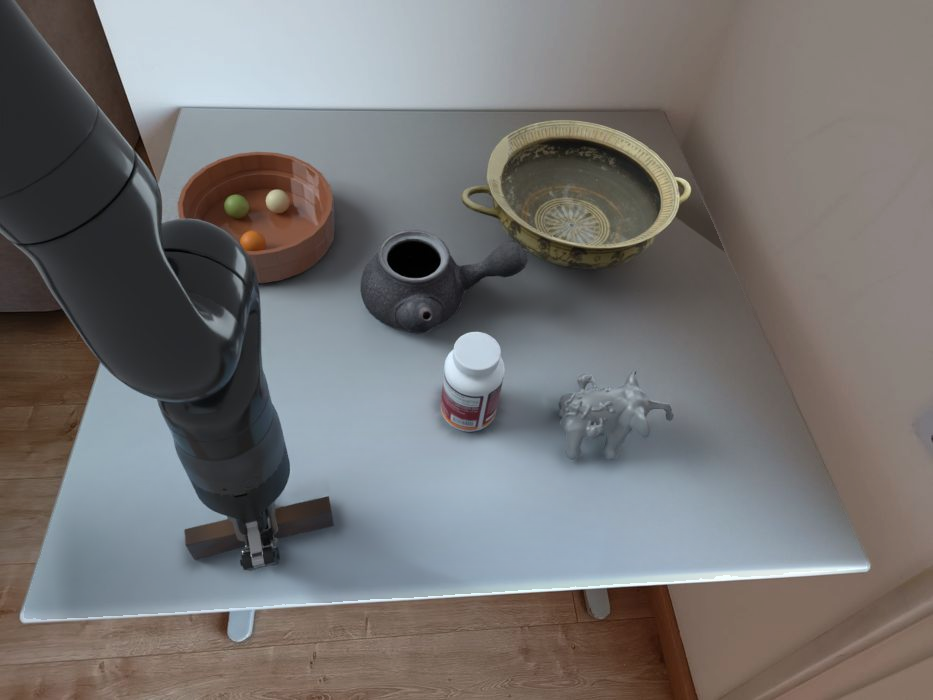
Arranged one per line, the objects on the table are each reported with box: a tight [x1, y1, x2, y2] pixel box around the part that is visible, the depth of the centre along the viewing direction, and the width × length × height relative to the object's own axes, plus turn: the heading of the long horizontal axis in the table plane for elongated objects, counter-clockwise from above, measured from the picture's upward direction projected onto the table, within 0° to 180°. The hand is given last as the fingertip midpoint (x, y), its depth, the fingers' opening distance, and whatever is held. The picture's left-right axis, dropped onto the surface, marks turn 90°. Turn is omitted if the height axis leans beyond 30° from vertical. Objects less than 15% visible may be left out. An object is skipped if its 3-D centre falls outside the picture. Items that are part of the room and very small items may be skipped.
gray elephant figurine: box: [557, 369, 674, 461], centre depth 75 cm, size 9×12×8 cm
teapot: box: [360, 229, 528, 334], centre depth 83 cm, size 19×15×10 cm
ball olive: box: [224, 195, 249, 219], centre depth 91 cm, size 3×3×3 cm
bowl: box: [177, 151, 336, 284], centre depth 89 cm, size 18×18×6 cm
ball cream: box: [266, 190, 290, 213], centre depth 92 cm, size 3×3×3 cm
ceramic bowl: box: [461, 119, 692, 270], centre depth 92 cm, size 30×24×10 cm
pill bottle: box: [440, 331, 506, 433], centre depth 74 cm, size 6×6×11 cm
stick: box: [183, 495, 335, 560], centre depth 67 cm, size 13×2×4 cm, turn 107°
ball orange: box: [240, 231, 266, 251], centre depth 87 cm, size 3×3×3 cm
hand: (264, 533), depth 68 cm, fingers open, 4 cm apart
